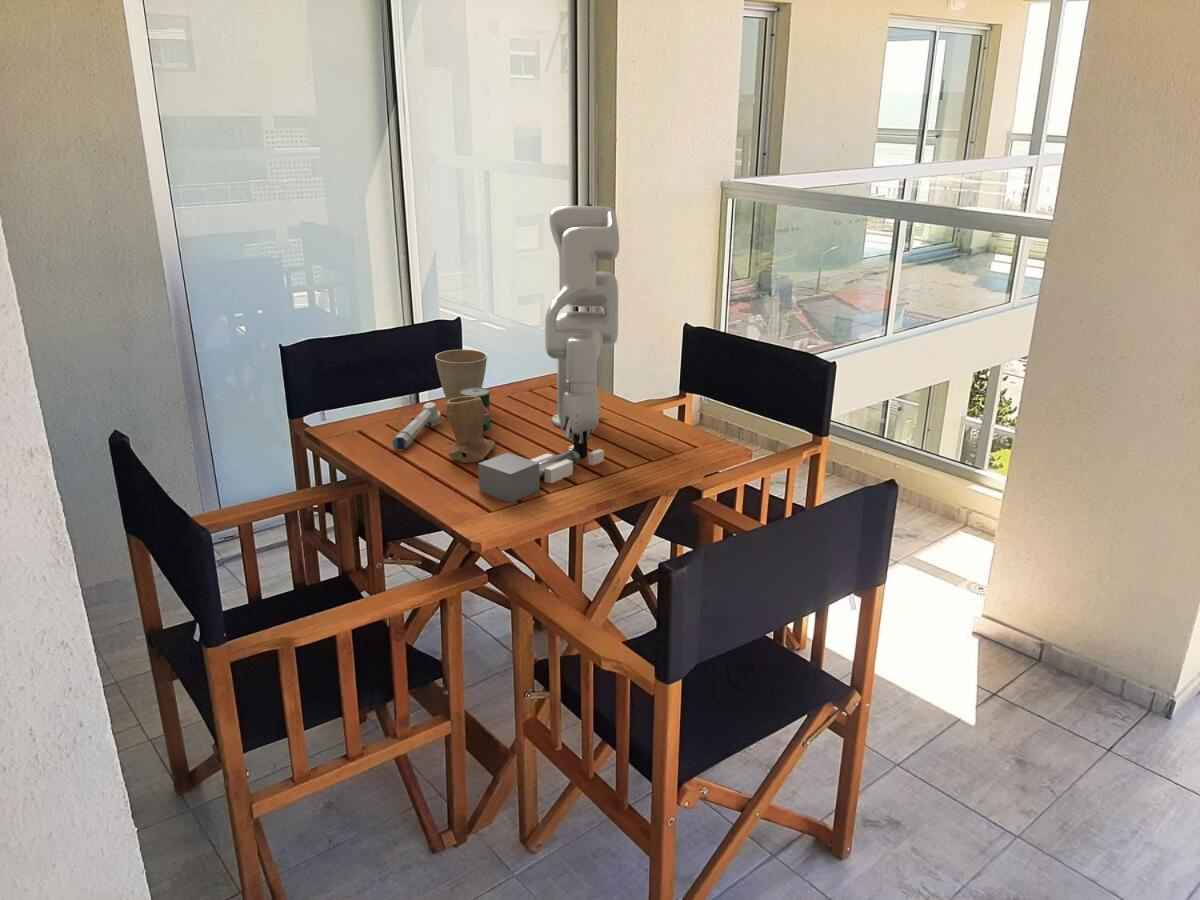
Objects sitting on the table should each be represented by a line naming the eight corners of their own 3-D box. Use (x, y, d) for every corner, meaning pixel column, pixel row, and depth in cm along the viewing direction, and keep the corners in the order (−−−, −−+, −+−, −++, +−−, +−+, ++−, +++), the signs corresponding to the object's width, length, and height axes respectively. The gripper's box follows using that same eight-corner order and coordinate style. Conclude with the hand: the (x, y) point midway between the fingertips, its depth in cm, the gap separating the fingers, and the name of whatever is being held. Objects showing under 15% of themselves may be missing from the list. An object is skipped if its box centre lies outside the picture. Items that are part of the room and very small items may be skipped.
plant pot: (428, 412, 273) (425, 359, 268) (452, 398, 286) (450, 347, 281) (474, 418, 268) (472, 364, 263) (496, 404, 282) (495, 352, 276)
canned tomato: (488, 434, 256) (487, 395, 252) (459, 433, 256) (458, 395, 252) (492, 425, 263) (491, 387, 259) (464, 424, 263) (462, 386, 259)
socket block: (508, 480, 225) (507, 452, 222) (539, 490, 219) (539, 462, 216) (479, 491, 218) (478, 463, 215) (510, 502, 212) (510, 474, 209)
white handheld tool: (388, 436, 242) (424, 396, 263) (391, 458, 245) (426, 417, 267) (408, 437, 241) (441, 397, 262) (410, 460, 244) (444, 419, 266)
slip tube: (567, 461, 236) (568, 446, 235) (580, 465, 234) (580, 450, 232) (500, 488, 219) (500, 472, 217) (512, 493, 216) (512, 477, 215)
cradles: (578, 453, 242) (578, 441, 241) (603, 461, 237) (603, 448, 236) (525, 475, 228) (525, 461, 227) (550, 483, 223) (550, 470, 222)
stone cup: (456, 443, 249) (454, 388, 244) (499, 446, 247) (498, 391, 242) (436, 462, 235) (434, 405, 230) (482, 466, 233) (480, 409, 228)
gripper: (589, 377, 238) (588, 445, 244) (549, 389, 227) (549, 460, 233) (612, 383, 233) (610, 452, 240) (572, 395, 222) (572, 467, 229)
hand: (580, 456), depth 236 cm, fingers closed
